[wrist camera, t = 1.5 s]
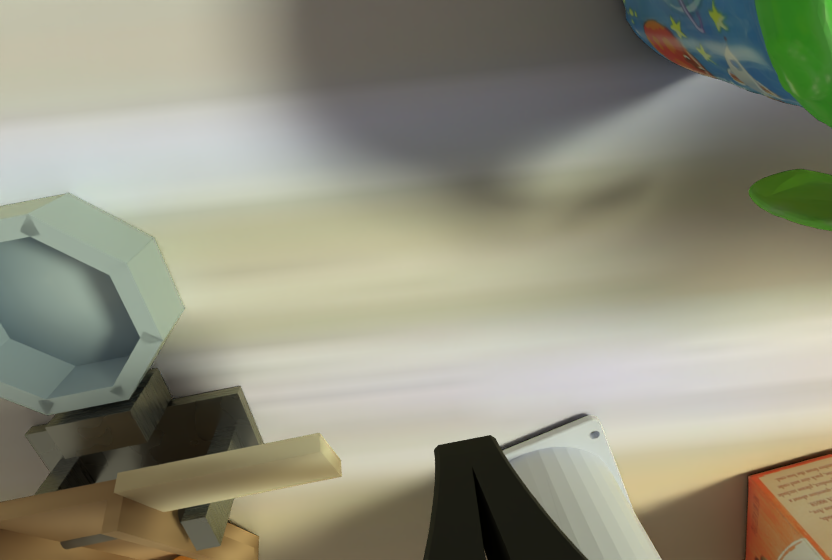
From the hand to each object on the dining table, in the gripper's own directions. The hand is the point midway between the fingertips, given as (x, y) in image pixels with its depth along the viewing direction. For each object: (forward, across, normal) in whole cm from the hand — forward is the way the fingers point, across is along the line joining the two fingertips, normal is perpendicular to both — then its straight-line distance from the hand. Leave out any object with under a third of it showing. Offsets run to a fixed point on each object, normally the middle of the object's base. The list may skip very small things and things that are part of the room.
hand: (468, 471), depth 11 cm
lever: (+7, +10, +7) cm, 14 cm away
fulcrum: (+10, +13, +6) cm, 17 cm away
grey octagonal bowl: (+10, +13, -2) cm, 17 cm away
